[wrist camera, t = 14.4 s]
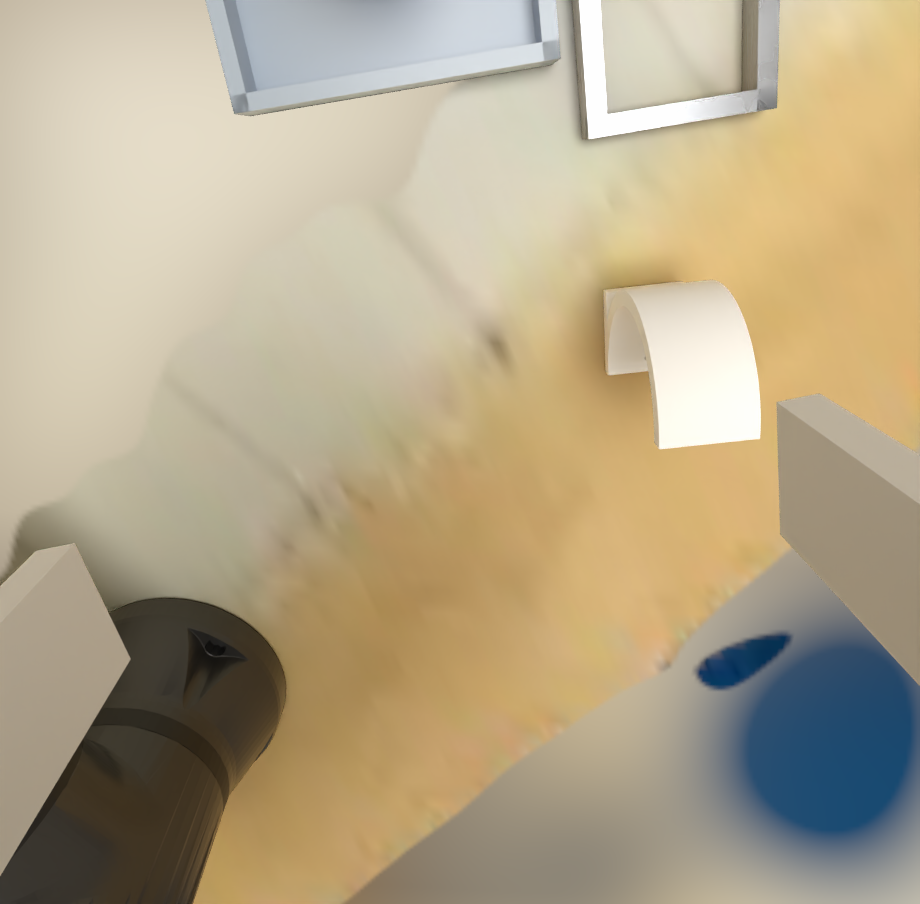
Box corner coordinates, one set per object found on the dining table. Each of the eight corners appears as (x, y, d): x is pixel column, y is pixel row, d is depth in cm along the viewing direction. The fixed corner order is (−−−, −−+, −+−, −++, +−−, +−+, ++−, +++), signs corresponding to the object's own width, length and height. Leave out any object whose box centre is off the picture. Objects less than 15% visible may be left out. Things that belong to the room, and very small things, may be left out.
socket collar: (582, 139, 38) (589, 139, 36) (566, -74, 34) (572, -87, 32) (760, 109, 37) (777, 107, 35) (764, -110, 34) (783, -125, 32)
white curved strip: (605, 371, 43) (658, 449, 32) (602, 271, 41) (659, 318, 30) (680, 363, 43) (760, 439, 32) (682, 262, 40) (769, 306, 29)
